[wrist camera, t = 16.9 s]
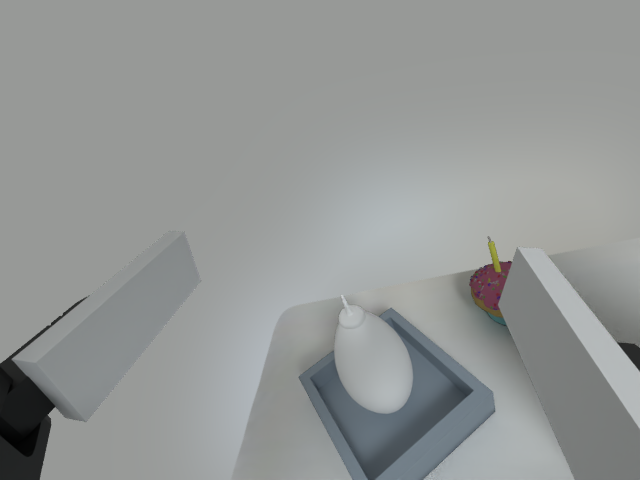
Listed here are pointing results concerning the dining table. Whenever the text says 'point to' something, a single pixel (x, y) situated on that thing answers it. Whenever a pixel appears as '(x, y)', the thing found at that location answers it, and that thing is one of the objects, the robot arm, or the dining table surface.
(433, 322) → the dining table surface
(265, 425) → the dining table surface
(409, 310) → the dining table surface
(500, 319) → the cupcake
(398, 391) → the sauce bottle
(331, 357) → the tray
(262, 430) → the dining table surface
